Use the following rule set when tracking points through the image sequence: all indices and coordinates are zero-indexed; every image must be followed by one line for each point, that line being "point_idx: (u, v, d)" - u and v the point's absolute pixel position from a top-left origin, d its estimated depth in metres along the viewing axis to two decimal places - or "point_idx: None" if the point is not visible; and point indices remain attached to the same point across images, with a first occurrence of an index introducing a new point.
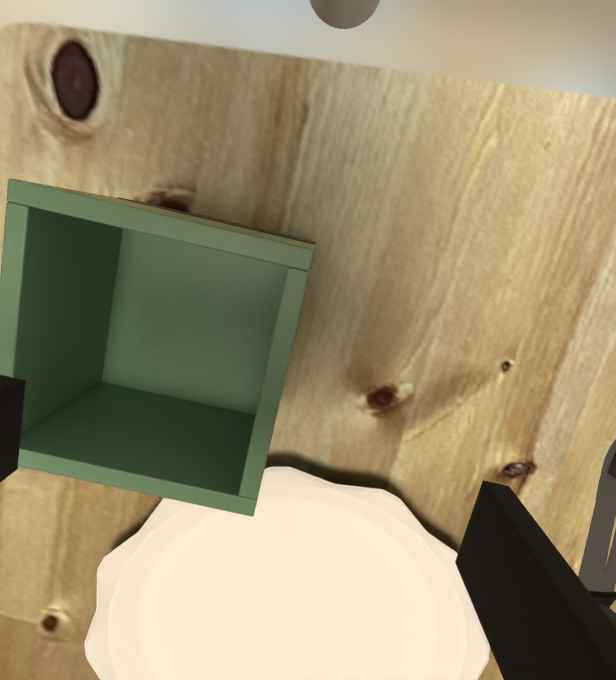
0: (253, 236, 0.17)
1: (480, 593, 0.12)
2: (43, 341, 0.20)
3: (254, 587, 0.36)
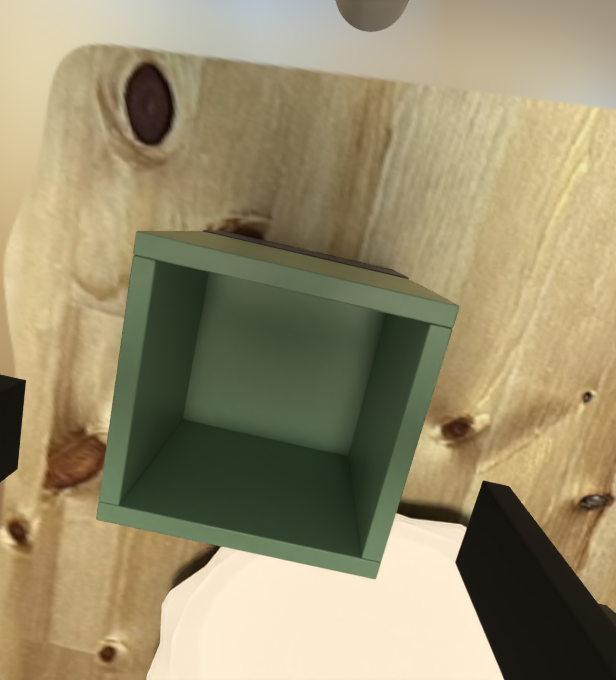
0: (395, 291, 0.16)
1: (479, 593, 0.12)
2: (151, 393, 0.19)
3: (319, 619, 0.35)
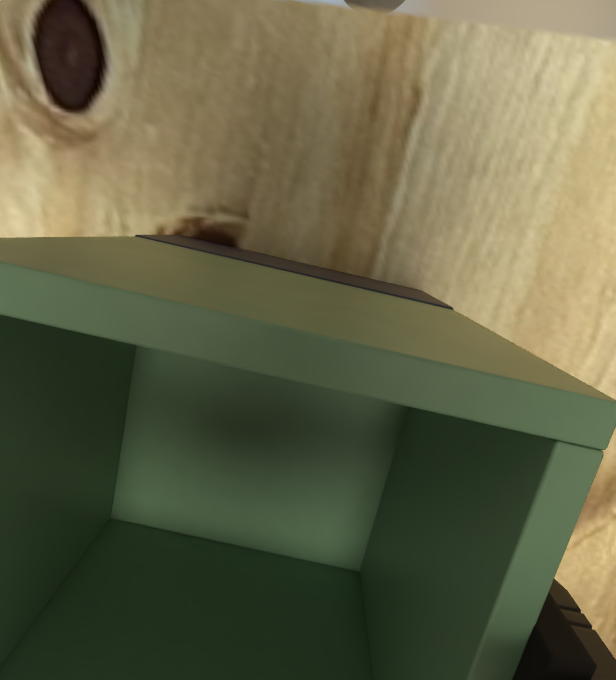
0: (482, 373, 0.07)
1: None
2: (2, 539, 0.10)
3: None
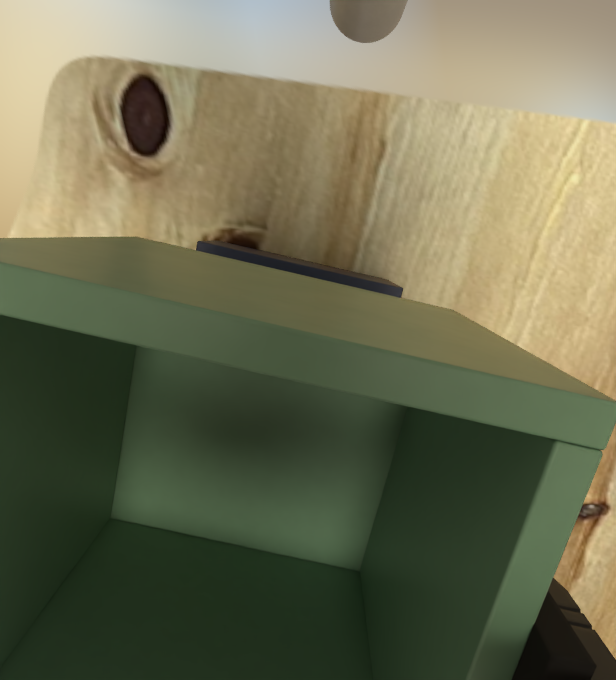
0: (481, 373, 0.07)
1: None
2: (3, 538, 0.10)
3: None
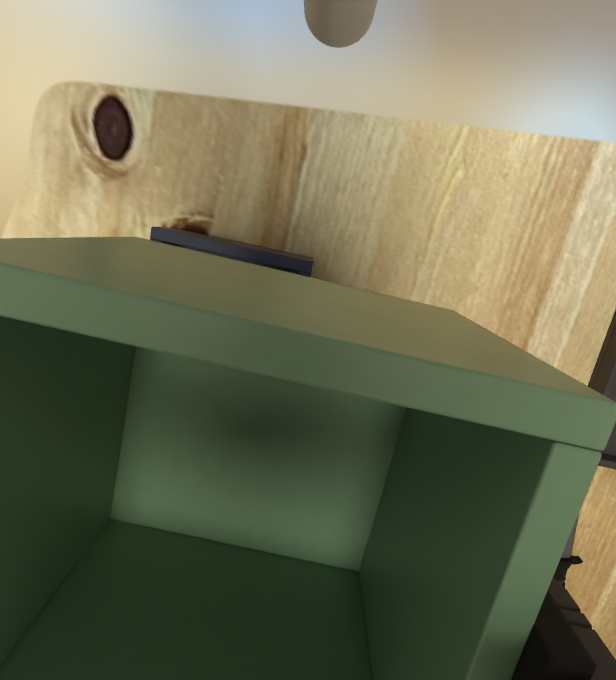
0: (480, 374, 0.07)
1: None
2: (1, 539, 0.10)
3: None
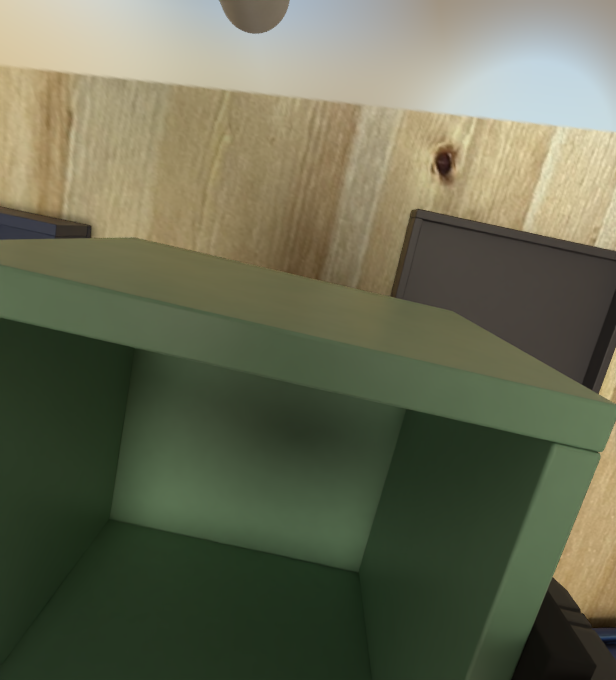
0: (479, 375, 0.07)
1: None
2: (1, 540, 0.10)
3: None
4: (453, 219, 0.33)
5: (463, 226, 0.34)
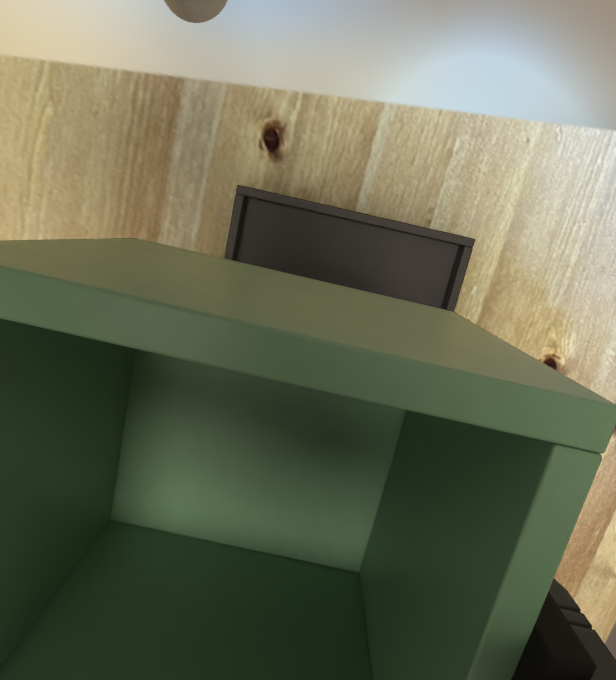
0: (480, 376, 0.07)
1: None
2: (1, 541, 0.10)
3: None
4: (274, 196, 0.33)
5: (285, 203, 0.33)
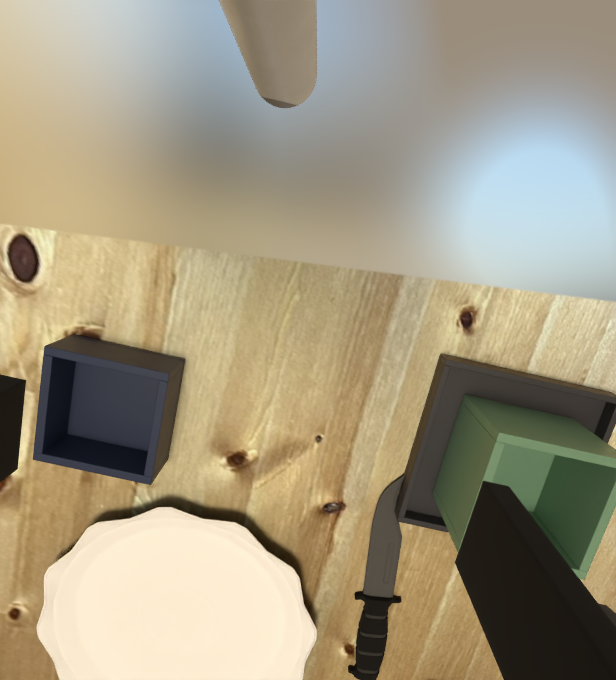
0: (606, 456, 0.37)
1: (480, 594, 0.12)
2: None
3: (156, 588, 0.51)
4: (474, 367, 0.43)
5: (481, 372, 0.43)
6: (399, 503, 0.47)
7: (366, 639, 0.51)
